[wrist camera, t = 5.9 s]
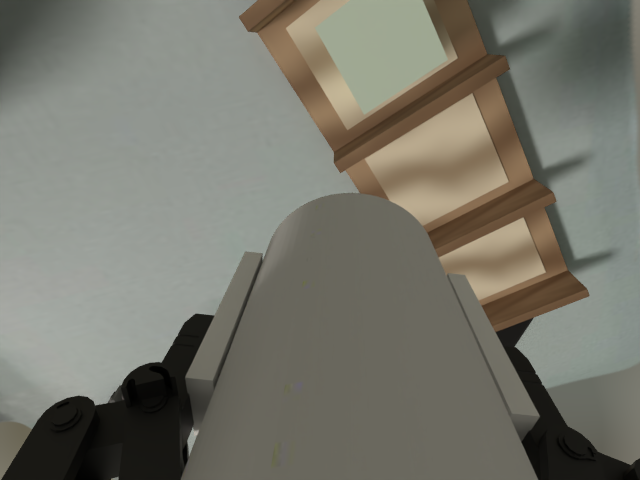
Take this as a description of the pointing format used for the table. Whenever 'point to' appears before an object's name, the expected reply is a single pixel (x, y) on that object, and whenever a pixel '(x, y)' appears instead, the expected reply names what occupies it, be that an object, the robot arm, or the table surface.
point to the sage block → (381, 47)
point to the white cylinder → (355, 362)
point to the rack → (436, 155)
